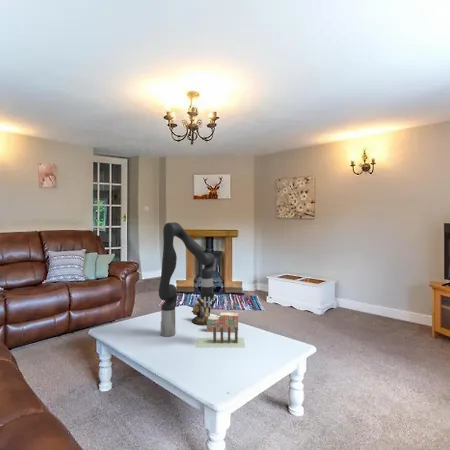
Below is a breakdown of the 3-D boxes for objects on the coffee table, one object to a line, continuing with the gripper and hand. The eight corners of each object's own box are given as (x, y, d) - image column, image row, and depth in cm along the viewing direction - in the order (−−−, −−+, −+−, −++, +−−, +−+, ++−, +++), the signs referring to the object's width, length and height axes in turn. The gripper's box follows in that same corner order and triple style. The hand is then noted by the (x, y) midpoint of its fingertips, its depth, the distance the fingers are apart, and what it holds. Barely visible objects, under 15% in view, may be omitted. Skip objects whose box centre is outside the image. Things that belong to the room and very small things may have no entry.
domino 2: (213, 343, 201) (213, 327, 201) (213, 340, 206) (213, 324, 206) (215, 343, 201) (215, 327, 201) (216, 340, 206) (216, 324, 206)
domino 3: (220, 343, 201) (220, 327, 201) (220, 340, 206) (220, 324, 206) (223, 343, 201) (223, 327, 201) (223, 340, 206) (223, 324, 206)
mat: (195, 348, 195) (195, 347, 195) (197, 338, 211) (197, 337, 211) (245, 348, 195) (245, 347, 195) (243, 338, 211) (243, 337, 211)
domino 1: (205, 316, 197) (206, 302, 204) (205, 321, 200) (206, 307, 208) (207, 316, 197) (208, 302, 204) (208, 321, 200) (208, 307, 208)
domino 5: (235, 343, 201) (235, 327, 201) (234, 340, 206) (234, 324, 206) (237, 343, 201) (237, 327, 201) (237, 340, 206) (237, 324, 206)
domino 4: (227, 343, 201) (227, 327, 201) (227, 340, 206) (227, 324, 206) (230, 343, 201) (230, 327, 201) (230, 340, 206) (230, 324, 206)
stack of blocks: (206, 332, 221) (206, 314, 221) (207, 329, 228) (207, 312, 227) (237, 333, 219) (237, 315, 219) (238, 330, 226) (238, 312, 225)
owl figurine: (187, 322, 244) (186, 299, 244) (198, 318, 253) (197, 296, 253) (204, 327, 232) (204, 303, 232) (215, 322, 242) (215, 300, 241)
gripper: (195, 286, 199) (195, 314, 199) (217, 286, 199) (218, 314, 199) (196, 284, 206) (197, 311, 207) (218, 284, 206) (218, 311, 207)
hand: (207, 312), depth 203 cm, fingers closed on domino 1, 1 cm apart
